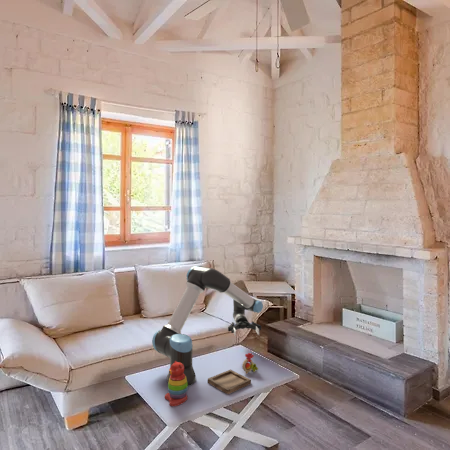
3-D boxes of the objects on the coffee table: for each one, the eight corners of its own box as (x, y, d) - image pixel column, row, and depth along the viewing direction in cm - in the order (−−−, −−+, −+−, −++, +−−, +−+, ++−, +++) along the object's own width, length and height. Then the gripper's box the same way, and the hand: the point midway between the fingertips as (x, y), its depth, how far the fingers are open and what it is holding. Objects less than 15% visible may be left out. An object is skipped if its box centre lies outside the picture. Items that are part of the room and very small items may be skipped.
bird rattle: (250, 379, 198) (261, 368, 203) (244, 363, 195) (255, 352, 200) (242, 375, 203) (253, 364, 208) (236, 359, 199) (247, 349, 205)
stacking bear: (163, 396, 176) (163, 360, 175) (183, 391, 181) (182, 356, 180) (171, 407, 167) (170, 369, 166) (191, 401, 171) (191, 365, 170)
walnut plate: (207, 382, 190) (207, 378, 190) (230, 373, 200) (230, 369, 200) (228, 394, 178) (228, 390, 178) (251, 383, 188) (251, 379, 188)
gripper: (260, 326, 233) (268, 338, 212) (222, 328, 231) (225, 340, 209) (260, 314, 233) (268, 325, 212) (221, 316, 230) (225, 327, 209)
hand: (247, 333), depth 211 cm, fingers open, 13 cm apart
